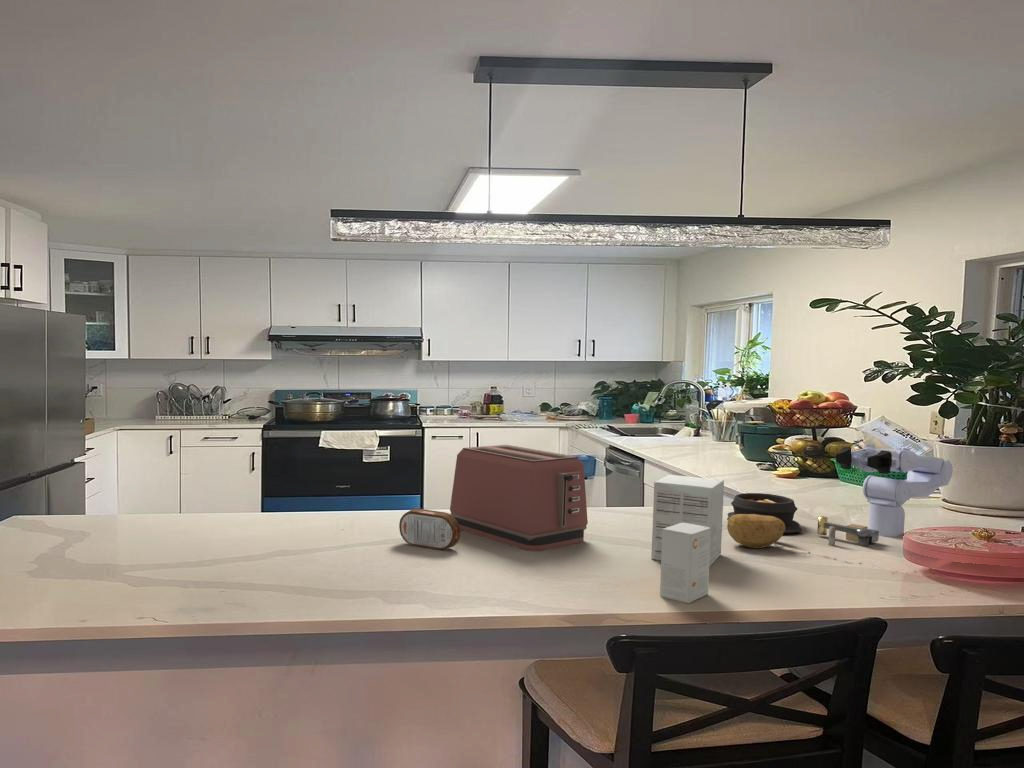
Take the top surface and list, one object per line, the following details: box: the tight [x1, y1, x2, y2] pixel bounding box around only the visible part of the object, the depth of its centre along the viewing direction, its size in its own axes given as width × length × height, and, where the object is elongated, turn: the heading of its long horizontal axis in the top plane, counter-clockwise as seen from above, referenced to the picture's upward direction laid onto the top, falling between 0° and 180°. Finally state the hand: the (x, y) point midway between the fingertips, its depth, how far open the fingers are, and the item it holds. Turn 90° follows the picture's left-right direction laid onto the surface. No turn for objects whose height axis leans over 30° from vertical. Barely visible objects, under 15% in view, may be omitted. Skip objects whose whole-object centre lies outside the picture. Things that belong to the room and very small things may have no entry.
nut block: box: [845, 523, 869, 543], centre depth 196 cm, size 4×4×4 cm
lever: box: [816, 515, 879, 544], centre depth 196 cm, size 7×13×4 cm, turn 41°
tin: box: [398, 507, 461, 551], centre depth 180 cm, size 15×3×8 cm, turn 65°
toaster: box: [449, 444, 589, 552], centre depth 196 cm, size 19×34×20 cm, turn 41°
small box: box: [659, 523, 711, 604], centre depth 150 cm, size 8×6×13 cm
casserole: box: [726, 492, 803, 534], centre depth 211 cm, size 25×19×8 cm
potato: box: [726, 514, 785, 549], centre depth 190 cm, size 10×14×8 cm
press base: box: [828, 526, 870, 548], centre depth 194 cm, size 16×20×6 cm
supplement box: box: [650, 474, 725, 568], centre depth 178 cm, size 13×13×18 cm
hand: (852, 459), depth 191 cm, fingers open, 7 cm apart
